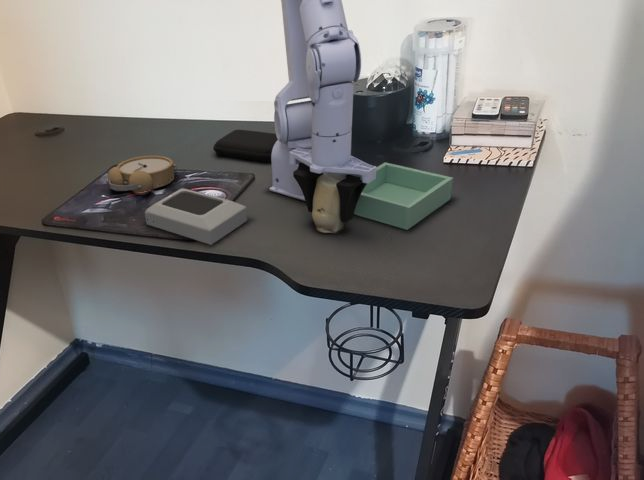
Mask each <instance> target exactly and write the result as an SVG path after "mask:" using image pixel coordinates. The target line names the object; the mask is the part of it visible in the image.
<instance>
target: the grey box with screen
mask: <svg viewBox="0 0 644 480" xmlns="http://www.w3.org/2000/svg"><path fill="white" fill-rule="evenodd" d="M247 211H248V210H247V206H246V205H243V204H241V203H238V202H235V201H233V200H230V199H226V198H222V197H218V196H215V195H211V194H207V193H204V192H203V193H202V192H199V191H195V190H191V189H188V188H184V187H181V188H179V189H177V190H176V191H174V192H172V193H171V194H169V195H167V196H166V197H163V198H162V199H160V200H159V201H157V202H155V203H154V204H151V206H149V207H148V208H146V210H145V211H144V218H145V224H146V225H148V226H151V227H154V228H158V229H161V230H163V231H166V232H168V233H169V232H170V233H173V234H176V235H178V236H182V237H185V238H189V239H192V240H194V241H196V242H197V241H198V242H201V243H204V244H207V245H209V246H212V245H213V244H215V243H216V242H218V241H219V240H220V239H222V238H224V237H225V236H226V235H228V234H230V233H231V232H232V231H234V230H235V229H237V228H238V227H240V226H242V225H243V224H244V223H246V222H247V221H248V212H247ZM147 219H148V220H147ZM153 221H154V222H153Z"/></svg>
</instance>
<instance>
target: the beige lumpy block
mask: <svg viewBox="0 0 644 480" xmlns="http://www.w3.org/2000/svg"><path fill="white" fill-rule="evenodd" d="M340 181H341V180H339V179H337V178H334V177H332V176H329V175H328V174H327V175H321V176H319V177H318V178H317V184H316V188H315V192H314V197H313V210H312V213H311V216H312V221H313V222H314V223H313V226H315V228H316V230H317V231H318V232H320V233H324V234H325V233H326V234H327V233H329V234H330V233H331V234H338V233H341V232H343V230H344V227H345V223H343V222H341V217H340V208H341V205H340V197H339V192H338V189H337V187H336V183H338V182H340Z"/></svg>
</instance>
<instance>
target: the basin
mask: <svg viewBox="0 0 644 480" xmlns="http://www.w3.org/2000/svg"><path fill="white" fill-rule="evenodd" d="M453 182H454V177H452V176H448V175H445V174H438V173H435V172H430V171H425V170H421V169H416V168H413V167H407V166H403V165H398V164H394V163H390V162H386V161H385V162H383V163H381V164H380V165H378V166H376V179H375V180H373V181H372V182H370V183H368V184H367V185H366V186H365V188H364V190H363V191H362V193H361V195H360V197H359V200H358V202H357V205H356V208H355V211H354V214H353V215H356V216H359V217H362V218H365V219H369V220H371V221H376V222H379V223H381V224H382V223H383V224H385V225H389V226H393V227H396V228H398V229H399V228H400V229H402V230H406V231H408V230H409V229H411V228H412V227H414V226H415V225H416V224H418V223H420V222H421V221H423V220H424V219H425V218H426V217H427V216H429V215H431V214H432V213H434V211H436V210H438V209H439V208H441V207H442V206H443V205H445V204H446V203H448V202H449V201H450V200H451V198H452V196H451V195H452V190H453Z"/></svg>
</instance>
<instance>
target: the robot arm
mask: <svg viewBox="0 0 644 480" xmlns="http://www.w3.org/2000/svg"><path fill="white" fill-rule="evenodd" d="M280 2H281V3H280V4H281V12H282V24H283V34H284V45H285V53H286V65H287V75H288V83H286V85H284V87H283V88H282V89H281V90H280V91H278V93H277V94H276V96H275V98H274V101H273V105H274V114H273V115H274V116H273V121H274V131H275V134H276V136H277V139H278V140H277V142H276V143H275V145H274V147H273V150H272V155H271V161H270V162H271V183H272V186H270V187H269V191H270V192H273V193H277V194H281V195H283V196H287V197H290V198H293V199H297V200H299V201H304V202H305V205H306V208H307V212H308V213H311V214H312V210H313V197H314V192H315V188H316V184H317V178H318V177H319V176H321V175H327V176H328V173H333V174H337V175H341V176H344V177H345V178H343V179H341V180H339V181H340V182H338V183H336V187H337V189H338V192H339V197H340V205H341V208H340V217H341V222H343V223H344V224H346V223H347V222H350V221H351V220H352V219H354V218H353V217H354V215H355V214H354V211H355V208H356V205H357V202H358V200H359V197H360V195H361V193H362V191H363V190H364V188H365V186H366V185H367V184H368V183H370V182H372V181H373V180H375V179H376V167H377V166H376V165H372V164H369V163H367V162H365V161H363V160H361V159H359V158H357V157H355V156H353V155H352V133H353V132H352V131H353V111H354V110H353V108H354V83H357V82H358V81H359V79H360V77H361V72H362V52H361V46H360V42H359V40H358V38H357V37H356V36H355V35H354V32H353V30H352V29H350V30H349V28H348V24H347V18H346V14H345V9H344V6H343V1H342V0H280ZM303 99H309V100H305V101H299V100H303ZM293 101H299V102H293ZM290 102H293V103H290Z"/></svg>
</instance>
